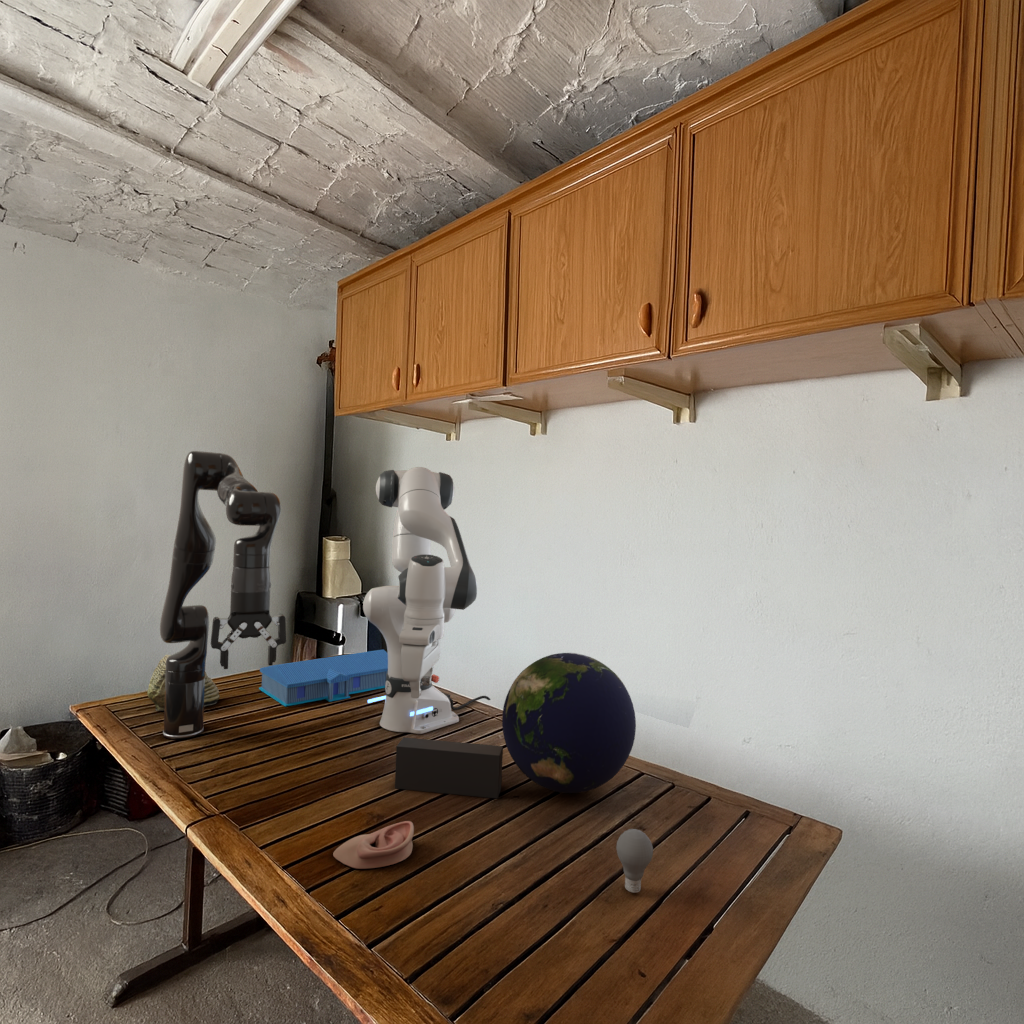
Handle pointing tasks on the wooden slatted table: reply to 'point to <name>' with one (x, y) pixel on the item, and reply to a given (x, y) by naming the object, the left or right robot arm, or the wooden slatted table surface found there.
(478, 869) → the wooden slatted table surface
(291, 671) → the model building
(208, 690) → the fossil
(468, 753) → the bar
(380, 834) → the anatomical model
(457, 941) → the wooden slatted table surface
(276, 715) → the wooden slatted table surface
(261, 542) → the left robot arm
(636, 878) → the light bulb
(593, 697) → the globe
